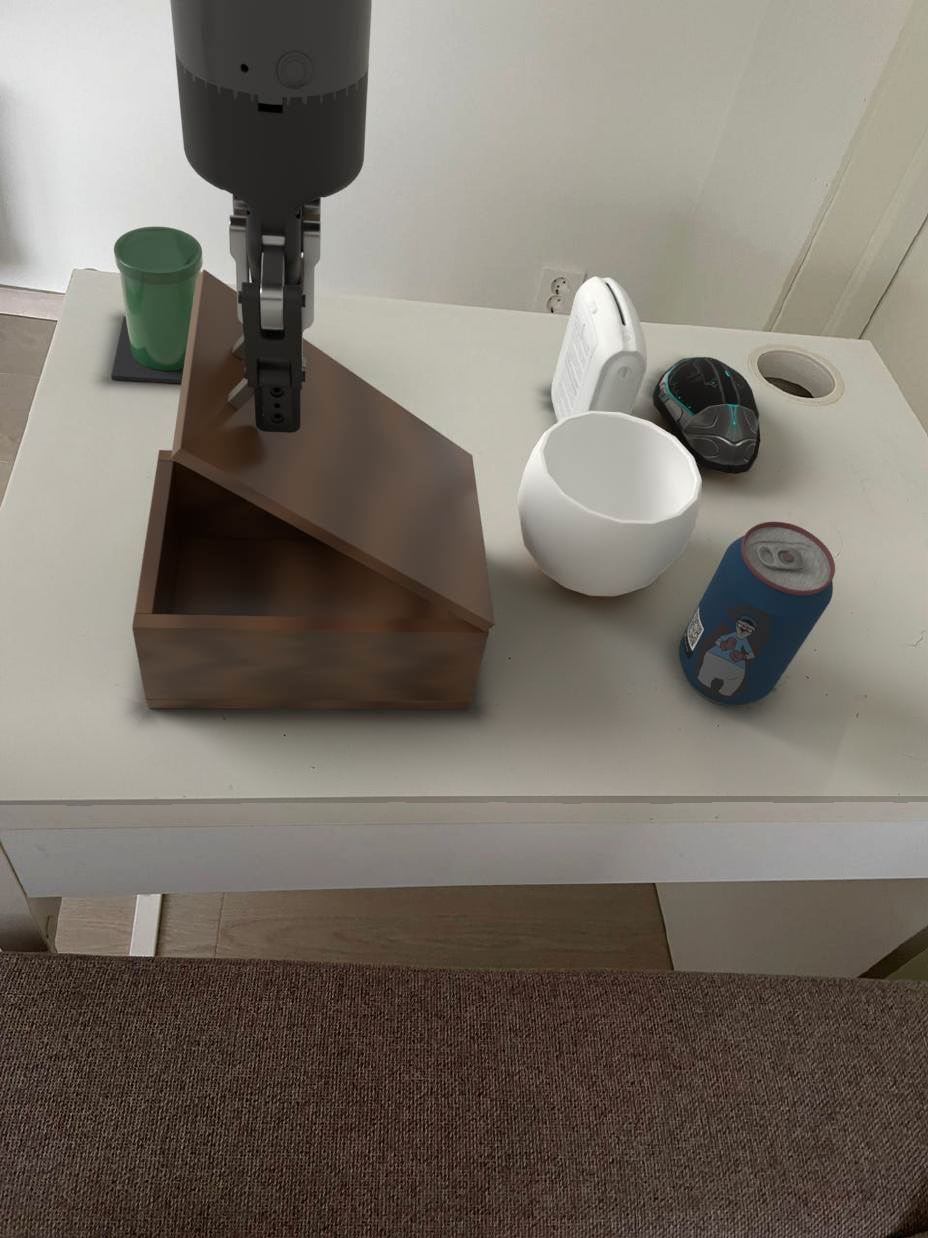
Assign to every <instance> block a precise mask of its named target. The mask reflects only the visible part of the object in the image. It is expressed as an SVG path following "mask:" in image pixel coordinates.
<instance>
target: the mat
mask: <svg viewBox="0 0 928 1238" xmlns="http://www.w3.org/2000/svg"><path fill="white" fill-rule="evenodd" d="M182 376H183V369H182V370H177V371H160V370H155V369H151V368H148V367H146V366H144V365H142V364H140V363H139V362H138V361H137V360H136V359H135V358H134V357H133V355H132V353H131V350H130V343H129V335H128V328H127V321H126V315H124V316H123V317H122V322H121V327H120V332H119V336H118V343H117V346H116V352H115V356H114V361H113V366H112V371H111V380H112V381H113V380H114V381H127V382H128V381H132V382H148V383H166V384H180V385H181V384H182Z"/></svg>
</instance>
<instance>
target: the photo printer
mask: <svg viewBox="0 0 928 1238" xmlns="http://www.w3.org/2000/svg"><path fill="white" fill-rule="evenodd" d="M565 329H566V330H565V333H564V337H563V341H562V345H561V348H560V352H559V356H558V359H557V363H556V367H555V371H554V374H553V378H552V383H551V391H550V394H551V395H550V396H551V402H552V406H553V410H554V414H555V419H556V421H557V422H559V421H560V420H561V419H563V418H564V417H568V416H572V415H576V414H580V413H584V412H588V411H603V412H621V413H624V414H627V415H631V416H632V413H633V409H634V406H635V404H636V401H637V398H638V395H639V393H640V389H641V387H642V383H643V381H644V377H645V375H646V373H647V367H648V351H647V344H646V338H645V334H644V331H643V327H642V325H641V321H640V318H639V315H638V312H637V310H636V308H635V305H634V304H633V301H632V299H631V297H630V296H629V294H628V293H627V292H626V290H625V289H624V288H623V287H622V286H621V284H619V283H618V282H617V281H616V280H614V279H613V278H611V277H610V276H608V277H599V276H595V275H594V276H592V277H591V278H589V279H587V280H585V282H583V283H582V284H581V285H580V287H579V288H578V290H577V291H576V293H575V296H574V299H573V303H572V306H571V310H570V314H569V318H568V322H567V326H566V328H565ZM557 422H556V423H557Z"/></svg>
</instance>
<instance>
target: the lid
mask: <svg viewBox="0 0 928 1238" xmlns="http://www.w3.org/2000/svg"><path fill="white" fill-rule="evenodd" d="M303 358H306V369H304V368H303V371H305V382H302V390H301V423H300V429H299V430H298V431H296V432H293V433H286V432H264V431H261V430H259V429H258V428H257V426H256V420H255V398H254V387H248V383H247V379H245V378H244V368H246V357H245V345H244V332H243V324H242V323H241V322H240V321H239V319H238V316H237V290H235V289H233V288H232V287H230V286H229V285H227V283H225V282H223V281H222V280H220V279H219V278H218V277H216V276H215V275H213V273H212V274H211V272H209V271H207V269H203V270H201V273H200V275H199V276H198V277H197V278H196V283H195V290H194V298H193V305H192V312H191V319H190V326H189V333H188V341H187V348H186V355H185V362H184V369H183V376H182V384H181V383H180V391H179V399H178V406H177V411H176V412H177V413H176V420H175V426H174V427H175V428H174V435H173V442H172V449H171V450H172V455H171V458H172V459H173V460H175V461H177V462H179V463H181V464H182V465H184V466H186V467H188V468H190V469H192V470H193V471H195V472H197V473H199V474H201V475H202V476H204V477H206V478H208V479H210V480H211V481H213V482H215V483H217V484H219V485H221V486H222V487H224V488H226V489H228V490H230V491H231V492H233V493H235V494H237V495H239V496H240V497H242V498H244V499H246V500H248V501H249V502H251V503H253V504H255V505H257V506H259V507H260V508H262V509H264V510H266V511H268V512H269V513H271V514H273V515H275V516H277V517H278V518H280V519H282V520H284V521H286V522H288V523H289V524H291V525H293V526H295V527H297V528H298V529H300V530H302V531H304V532H306V533H307V534H309V535H311V536H313V537H315V538H317V539H318V540H320V541H322V542H324V543H326V544H327V545H329V546H331V547H333V548H335V549H336V550H338V551H340V552H342V553H344V554H346V555H347V556H349V557H351V558H353V559H355V560H356V561H358V562H360V563H362V564H364V565H365V566H367V567H369V568H371V569H373V570H375V571H376V572H378V573H380V574H382V575H384V576H385V577H387V578H389V579H391V580H393V581H394V582H396V583H398V584H400V585H402V586H404V587H405V588H407V589H409V590H411V591H413V592H414V593H416V594H418V595H420V596H422V597H423V598H425V599H427V600H429V601H431V602H433V603H434V604H436V605H438V606H440V607H442V608H443V609H445V610H447V611H449V612H451V613H452V614H454V615H456V616H458V617H460V618H462V619H463V620H465V621H467V622H469V623H471V624H472V625H474V626H476V627H478V628H480V629H481V630H483V631H485V632H487V631H488V630H489V631H490V630H491V629H493V628H494V627H495V626H496V620H495V612H494V605H493V598H492V590H491V589H492V588H491V582H490V575H489V568H488V561H487V554H486V545H485V539H484V538H485V537H484V530H483V524H482V523H483V522H482V517H481V516H482V515H481V510H480V509H481V508H480V502H479V495H478V487H477V480H476V472H475V466H474V465H475V464H474V458H473V457H474V456H473V455H472V453H469V451H467V450H465V449H464V448H462V447H461V446H459V445H458V444H457V443H456V442H454V441H452V440H451V439H449V438H448V437H447V436H445V435H444V434H443V433H441V432H440V431H438V430H436V429H435V428H434V427H432V426H431V425H429V424H428V423H427V422H425V421H424V420H423V419H421V418H420V417H418V416H416V415H415V414H414V413H412V412H411V411H409V410H408V409H407V408H404V407H403V406H402V405H400V404H399V403H398V402H396V401H395V400H393V399H392V398H390V397H389V396H387V395H386V394H385V393H383V392H382V391H380V390H379V389H378V388H376V387H375V386H373V385H372V384H370V383H368V381H366V380H365V379H363V378H362V377H360V376H358V375H357V374H356V373H355V372H353V371H351V369H349V368H347V367H346V366H344V365H343V364H342V363H340V362H339V361H337V360H336V359H334V358H333V357H331V356H330V355H329V354H327V353H325V352H324V351H323V350H322V349H320V348H319V347H317V346H315V345H314V344H313V343H311V342H310V341H309V340H307V339H305V338H304V337H303Z"/></svg>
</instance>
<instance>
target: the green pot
mask: <svg viewBox="0 0 928 1238" xmlns="http://www.w3.org/2000/svg"><path fill="white" fill-rule="evenodd" d="M113 255H114V261H115V265H116V267H117V269H118V270H119V271H118V272H119V278H120V284H121V292H122V299H123V308H124V313H125V316H126V321H127V328H128V335H129V343H130V350H131V353H132V355H133V357H134V358H135V359H136V360H137V361H138V362H139V363H140V364H142V365H144V366H146V367H148V368H151V369H155V370H160V371H177V370H182V369H184V362H185V355H186V348H187V341H188V333H189V326H190V319H191V312H192V305H193V298H194V290H195V283H196V278H197V277H198V276H199V275H200V273H201V272H202V268H203V263H204V259H203V258H204V257H203V248H202V246H201V243H200V242H199V241H198V240H197V238H195V237H194V236H192V234H190V233H187V232H186V231H183V230H180V229H178V228H173V227H168V226H158V225H157V226H144V227H139V228H135V229H132V230H130V231H127V232H125V233H124V234H122V235H121V236H120V237H118V238H117V240H116V241H115V243H114V246H113Z"/></svg>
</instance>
